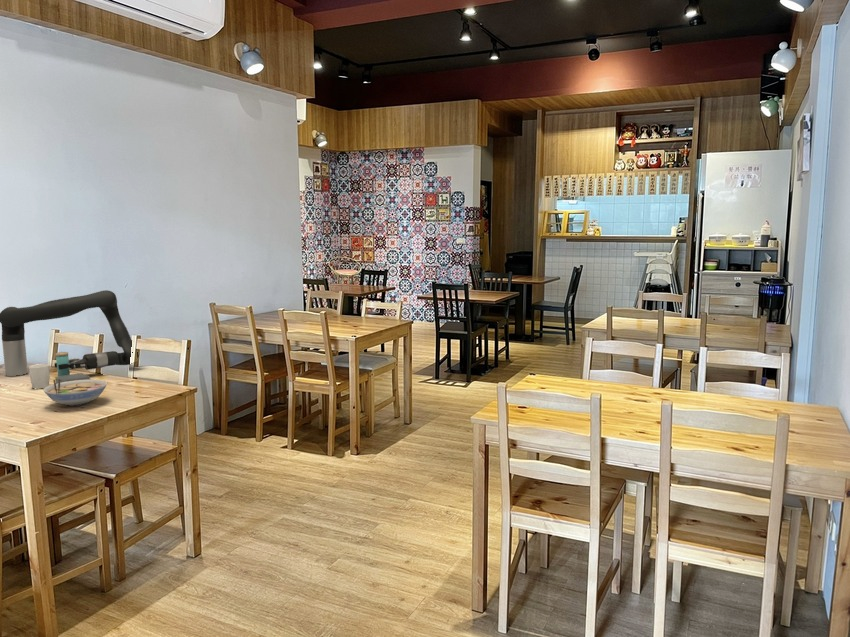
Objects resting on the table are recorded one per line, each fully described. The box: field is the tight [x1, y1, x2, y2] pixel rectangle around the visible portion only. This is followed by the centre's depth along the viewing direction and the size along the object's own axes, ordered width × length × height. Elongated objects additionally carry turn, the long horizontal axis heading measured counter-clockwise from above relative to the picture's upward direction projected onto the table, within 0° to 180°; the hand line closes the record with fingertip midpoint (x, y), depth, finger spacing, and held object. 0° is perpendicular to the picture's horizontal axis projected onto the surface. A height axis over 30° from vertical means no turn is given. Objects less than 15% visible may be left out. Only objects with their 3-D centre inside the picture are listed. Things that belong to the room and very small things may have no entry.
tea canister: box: [55, 351, 71, 377], centre depth 292 cm, size 5×5×13 cm
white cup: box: [28, 363, 51, 390], centre depth 278 cm, size 8×8×10 cm
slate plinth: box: [54, 372, 91, 384], centre depth 285 cm, size 11×11×4 cm
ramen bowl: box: [42, 379, 108, 407], centre depth 252 cm, size 25×23×8 cm
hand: (56, 366), depth 290 cm, fingers closed on tea canister, 5 cm apart
